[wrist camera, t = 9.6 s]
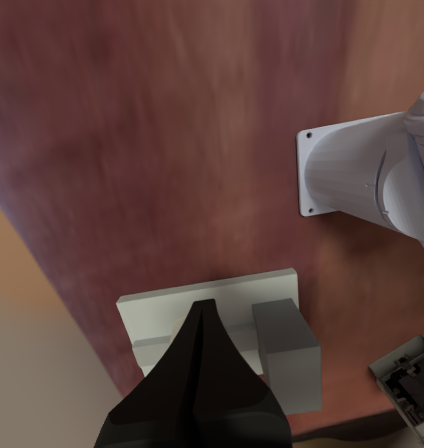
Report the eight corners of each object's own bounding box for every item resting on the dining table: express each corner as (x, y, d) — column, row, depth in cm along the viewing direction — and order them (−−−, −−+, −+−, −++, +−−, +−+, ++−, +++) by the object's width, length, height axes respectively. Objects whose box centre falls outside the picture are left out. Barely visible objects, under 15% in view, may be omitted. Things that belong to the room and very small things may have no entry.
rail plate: (292, 267, 22) (330, 315, 15) (298, 359, 26) (329, 428, 19) (120, 296, 23) (82, 353, 16) (152, 380, 27) (133, 455, 20)
